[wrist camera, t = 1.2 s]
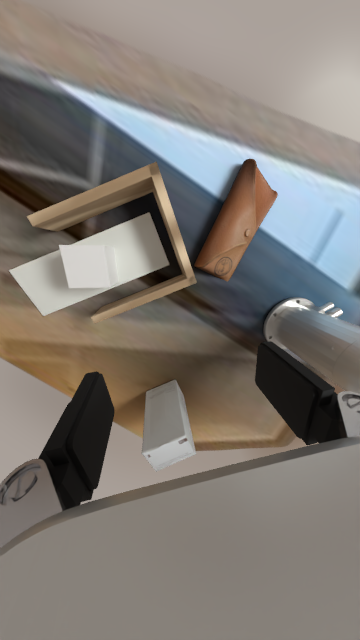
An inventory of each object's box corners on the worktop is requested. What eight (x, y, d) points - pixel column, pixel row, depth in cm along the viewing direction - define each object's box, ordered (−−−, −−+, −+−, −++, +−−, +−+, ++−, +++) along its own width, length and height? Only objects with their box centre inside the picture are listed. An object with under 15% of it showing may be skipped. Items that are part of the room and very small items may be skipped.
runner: (149, 212, 29) (149, 212, 29) (169, 264, 32) (169, 264, 32) (9, 270, 29) (8, 270, 29) (43, 315, 33) (43, 316, 33)
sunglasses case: (229, 285, 35) (225, 282, 29) (199, 270, 37) (190, 265, 31) (280, 190, 30) (290, 162, 24) (243, 179, 32) (243, 150, 26)
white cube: (84, 282, 31) (68, 288, 26) (77, 246, 29) (58, 245, 24) (118, 281, 32) (110, 287, 26) (114, 246, 30) (103, 245, 24)
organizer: (53, 223, 28) (26, 216, 22) (156, 180, 27) (156, 161, 22) (105, 312, 34) (94, 323, 28) (190, 277, 34) (196, 282, 28)
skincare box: (155, 405, 44) (154, 474, 31) (145, 389, 42) (138, 455, 28) (185, 394, 44) (197, 457, 30) (176, 377, 42) (185, 437, 28)
